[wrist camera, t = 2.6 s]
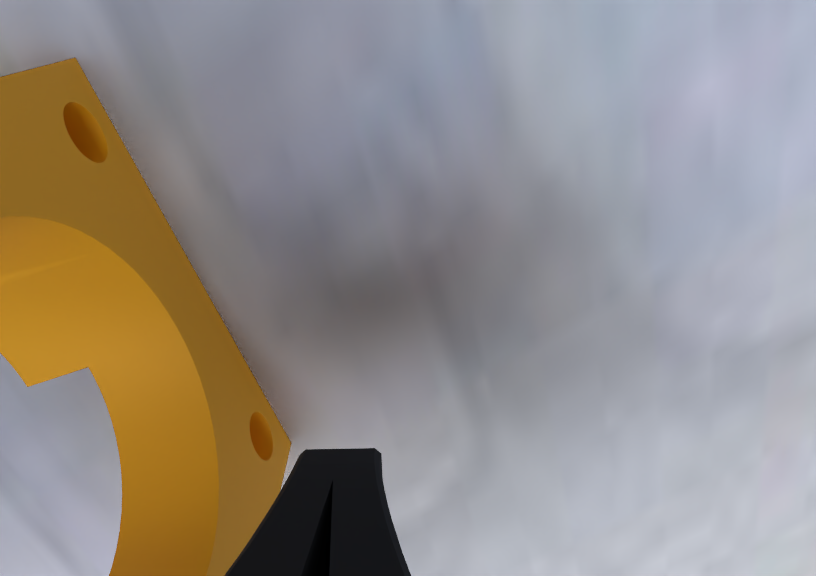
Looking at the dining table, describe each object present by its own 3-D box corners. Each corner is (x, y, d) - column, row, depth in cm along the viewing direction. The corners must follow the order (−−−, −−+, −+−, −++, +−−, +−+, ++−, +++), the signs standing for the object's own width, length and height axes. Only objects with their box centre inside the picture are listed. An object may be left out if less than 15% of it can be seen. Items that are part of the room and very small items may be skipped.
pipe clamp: (-78, 120, 15) (-372, 211, 9) (78, 56, 15) (-134, 111, 9) (168, 475, 20) (76, 676, 14) (292, 439, 20) (246, 633, 14)
